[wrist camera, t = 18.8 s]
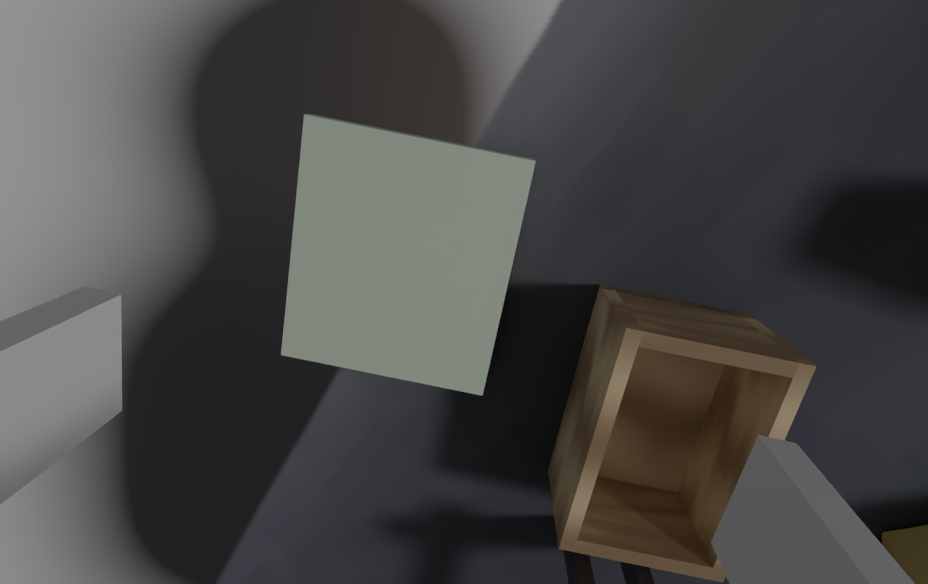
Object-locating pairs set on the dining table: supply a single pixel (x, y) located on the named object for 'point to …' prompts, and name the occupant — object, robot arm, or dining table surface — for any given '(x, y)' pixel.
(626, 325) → the wooden box
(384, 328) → the lid
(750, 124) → the dining table surface
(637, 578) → the keeper
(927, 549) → the cheese
